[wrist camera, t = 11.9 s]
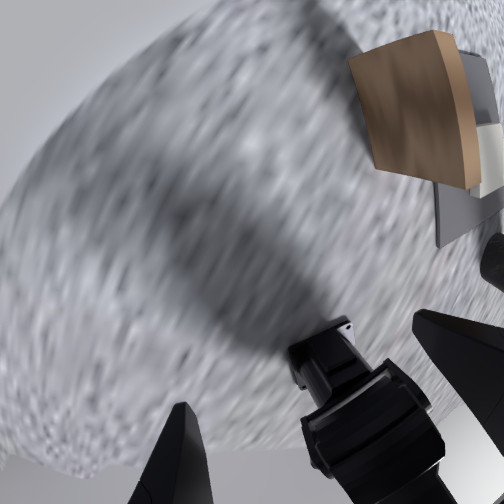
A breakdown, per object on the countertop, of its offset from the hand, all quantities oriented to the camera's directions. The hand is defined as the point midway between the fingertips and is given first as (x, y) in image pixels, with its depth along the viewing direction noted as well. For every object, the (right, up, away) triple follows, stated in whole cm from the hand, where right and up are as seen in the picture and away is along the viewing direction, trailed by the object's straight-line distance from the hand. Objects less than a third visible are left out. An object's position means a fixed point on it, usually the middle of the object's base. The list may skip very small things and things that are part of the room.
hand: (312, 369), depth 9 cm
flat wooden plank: (+7, +15, +9) cm, 19 cm away
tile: (+20, +13, +12) cm, 27 cm away
